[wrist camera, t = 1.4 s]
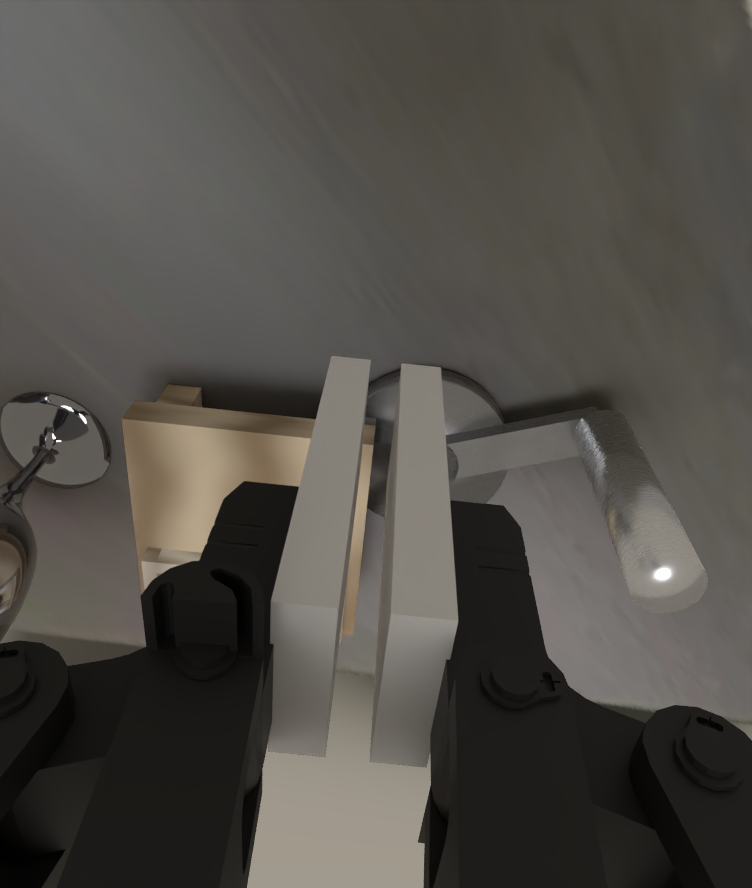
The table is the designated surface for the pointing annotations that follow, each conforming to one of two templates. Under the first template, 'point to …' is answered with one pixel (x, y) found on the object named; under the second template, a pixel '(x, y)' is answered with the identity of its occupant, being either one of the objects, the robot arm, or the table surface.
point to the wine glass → (40, 478)
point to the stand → (215, 475)
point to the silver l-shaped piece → (548, 439)
